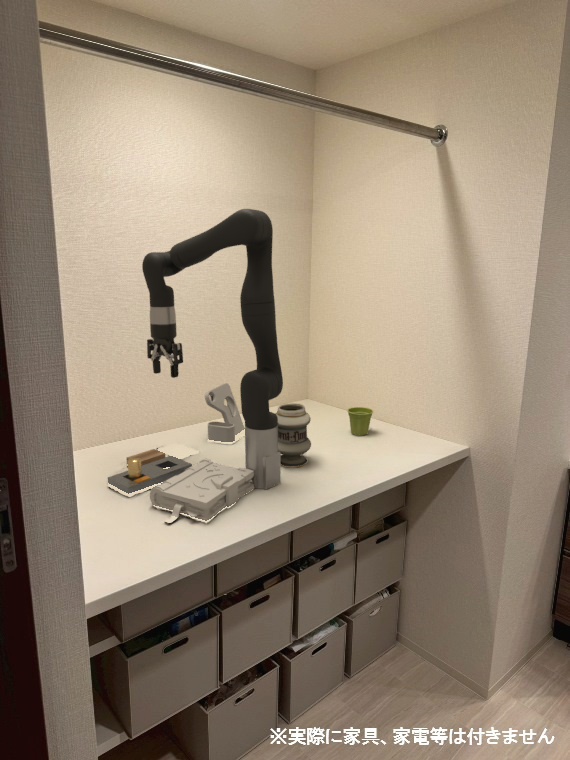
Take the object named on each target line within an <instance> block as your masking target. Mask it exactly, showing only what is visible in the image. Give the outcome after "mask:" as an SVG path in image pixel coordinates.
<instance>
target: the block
mask: <svg viewBox="0 0 570 760" xmlns="http://www.w3.org/2000/svg"><path fill="white" fill-rule="evenodd" d="M135 457H137V458H140V459H141V466H142V465H145V464H148V463H151V462H154V461H157V460H160V459H163V458H166V454H165V453H163V452H160V451H158V450H157V449H155V448H152V449H149V450H146V451H142V452H141V453H136V454H133V455H130V456H127V457H126V464H127V463H128V459H130V458H135Z"/></svg>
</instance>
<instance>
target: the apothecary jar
mask: <svg viewBox="0 0 570 760" xmlns="http://www.w3.org/2000/svg"><path fill="white" fill-rule="evenodd" d="M274 413H275V414H276V415H277V417H278V451H279V452H280V453H281V466H282V467H287V468H298V467H302V466H304V465H306V464H307V463H308V459H307V457H305V455H304V454H306V453H307V452H308V451H310V450H311V448H312V441H311V439H310V438H309V437H308V431H307V430H308V429H307V428H308V427H307V426H308V425H309V424H310V423H311V419H312V418H311V416H310V414H309V413H308V412H307V411H306V406H305V405H303V404H301V403H295V402H294V403H293V402H292V403H291V402H289V403H282V404H280V405H278V406H277V411H276V412H274Z"/></svg>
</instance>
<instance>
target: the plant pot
mask: <svg viewBox="0 0 570 760" xmlns="http://www.w3.org/2000/svg"><path fill="white" fill-rule="evenodd" d="M346 412H347V413H348V416H349V427H350V433H351V434H352V435H355V436H365V435H369V429H370V423H371V418H372V415H373V414H374V410H373V409H372V408H369V407H365V406H364V407H363V406H355V407H349V408H347V410H346Z"/></svg>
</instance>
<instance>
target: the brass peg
mask: <svg viewBox="0 0 570 760" xmlns="http://www.w3.org/2000/svg"><path fill="white" fill-rule="evenodd" d="M127 471H128V475H129V480H131V481H134V480H136V479H138V478H141V477H142V469H141V459H140V458H137V457H135V458H130V459H128V467H127Z"/></svg>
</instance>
